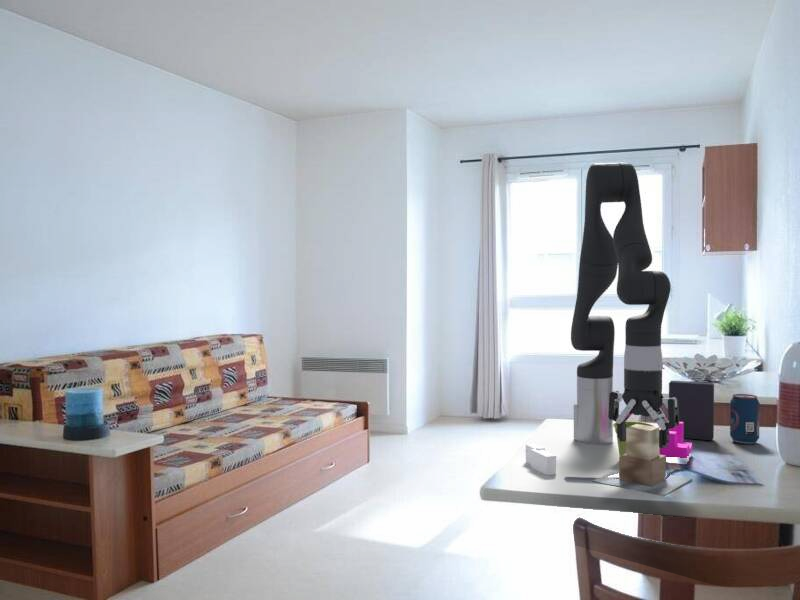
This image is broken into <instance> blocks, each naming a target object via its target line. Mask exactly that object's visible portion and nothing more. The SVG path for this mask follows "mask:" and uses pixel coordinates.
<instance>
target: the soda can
mask: <svg viewBox="0 0 800 600" xmlns="http://www.w3.org/2000/svg"><path fill="white" fill-rule="evenodd" d="M729 403H730V404H729V405H730V407H729V408H730V409H729V411H730V412H729V415H730V417H729V418H730V419H729V437H731V440H732V441H734V442H736V443H740V444H755V443H757V442H758V440H759V439H760V410H761V409H760V401H759V400H758V396H757V395H754V394H747V393H736V394H732V398H731V400H730V402H729Z"/></svg>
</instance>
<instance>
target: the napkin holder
mask: <svg viewBox="0 0 800 600" xmlns="http://www.w3.org/2000/svg"><path fill="white" fill-rule="evenodd" d="M545 449H546V448H545V447H542V446H541V445H538V444H536V443H528V444H527V443H526V444H525V463H527V464H529V465H530V468H531V469H533V470H535V471H537V472H539V473H541V474H544V475H545V476H549V475H551V476H552V475H557V455H555V454H553V453H551V452H548V451H546V450H545Z"/></svg>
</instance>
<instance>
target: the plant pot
mask: <svg viewBox="0 0 800 600" xmlns="http://www.w3.org/2000/svg"><path fill="white" fill-rule="evenodd" d="M625 423H627V427H630V426H632V425H635V424H640V425H647V426H654V427H656V426H655V425H653V424H651V423H647V422H643V421H632V420H631V421H628V420H627V421H626V422H625ZM613 428H614V431H615V434H616V435H617V423H616V422H613ZM616 440H617V447H618V455H619V456H622V455H624V454H626V441H624V442H622V441H620V440H619V438H618V437H617V436H616Z"/></svg>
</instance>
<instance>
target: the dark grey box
mask: <svg viewBox="0 0 800 600" xmlns="http://www.w3.org/2000/svg"><path fill="white" fill-rule="evenodd" d="M673 397H676V398H677V399H678V409H679V422H684V436H683V439H691V440H703V441H713V440H714V438H715V437H714V436H715V431H714V430H715V429H714V427H715V425H714V423H715V419H714V418H715V410H714V409H715V383H713V382H708V381H707V382H706V381H705V382H704V381H703V382H702V381H688V380H687V381H686V380H685V381H684V380H670V381H669V382H668V398H673Z"/></svg>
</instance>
